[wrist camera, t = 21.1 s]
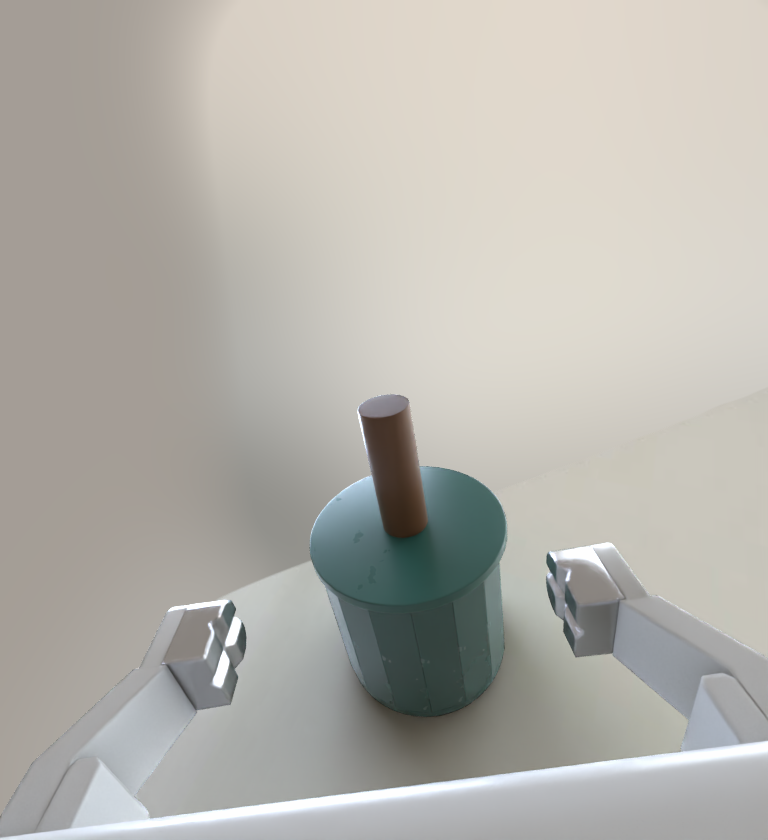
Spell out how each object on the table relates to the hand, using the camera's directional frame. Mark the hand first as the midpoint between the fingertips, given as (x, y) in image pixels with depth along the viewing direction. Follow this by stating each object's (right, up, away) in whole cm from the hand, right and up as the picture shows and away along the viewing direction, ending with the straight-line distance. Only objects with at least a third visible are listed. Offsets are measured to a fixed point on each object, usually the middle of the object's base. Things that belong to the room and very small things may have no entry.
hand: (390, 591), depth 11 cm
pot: (+3, -10, +18) cm, 21 cm away
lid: (+1, -2, +14) cm, 14 cm away
